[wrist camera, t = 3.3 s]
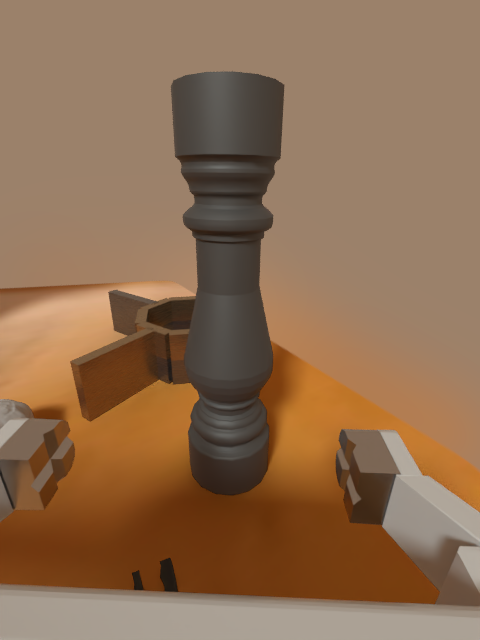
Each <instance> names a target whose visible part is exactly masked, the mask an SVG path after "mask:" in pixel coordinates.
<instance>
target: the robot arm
mask: <svg viewBox="0 0 480 640" xmlns="http://www.w3.org/2000/svg"><path fill="white" fill-rule="evenodd" d="M69 432H70V428H69V424H68V422H67V421H64V420H53V419H36V418H32V419H29V418H14V419H11V420H9V421H8V422H7V423H6V424H5V425H4V426H3V427H2V428H1V429H0V522H1V521H2V520H4V519H5V518H6V517H7V516H9V515H10V514H11V513H12V512H13V510H45V508H46V507H47V505H48V504H49V502H50V501H51V499H52V497H53V496H54V494H55V493H56V491H57V490H58V486H57V482H58V481H59V480H61V479H62V478H64V477H65V476H66V475H67V474H68V472H69V470H70V469H71V467H72V464H73V460H74V457H75V448H74V444H73V442H72V441H71V440H70V439H69V438H68V437H67V435H68V434H69ZM339 442H340V445H341V448H340V449H339V450H338V451H337V455H336V474H337V479H338V483H339V486H340V487H341V488H342V489H343V490H344V491H345V494H344V499H343V500H344V504H345V507H346V511H347V514H348V518H349V521H350V523H363V524H377V525H382V527H383V528H384V529H385V530H386V532H387V533H388V534H389V535H390V536H391V537H392V538H393V539H394V541H395V542H396V543H397V544H398V545H399V546H400V547H401V548H402V550H403V551H404V552H405V553H406V554H407V555H408V556H409V557H410V559H411V560H412V561H413V562H414V563H415V564H416V565H417V567H418V568H419V569H420V570H421V571H422V572H423V573H424V574H425V576H426V577H427V578H428V579H429V580H430V581H431V582H432V583H433V585H434V586H435V587H436V588H437V589H438V590H439V591H440V593H439V596H438V598H437V600H436V603H435V604H418V603H397V602H376V601H354V600H333V599H312V598H291V597H270V596H249V595H228V594H206V593H185V592H164V591H143V590H122V589H101V588H81V587H60V586H39V585H19V584H0V640H480V512H478V511H477V510H475V509H474V508H473V507H471V506H470V505H468V504H467V503H466V502H464V501H463V500H461V499H460V498H459V497H457V496H456V495H454V494H453V493H452V492H450V491H449V490H447V489H446V488H445V487H443V486H442V485H440V484H439V483H438V482H436V481H435V480H433V479H432V478H431V477H429V476H423V475H422V473H421V472H420V470H419V468H418V467H417V465H416V463H415V461H414V460H413V458H412V456H411V455H410V453H409V451H408V449H407V448H406V446H405V444H404V443H403V441H402V439H401V438H400V436H399V434H398V432H396V431H395V430H352V429H342V430H341V432H340V436H339Z"/></svg>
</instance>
